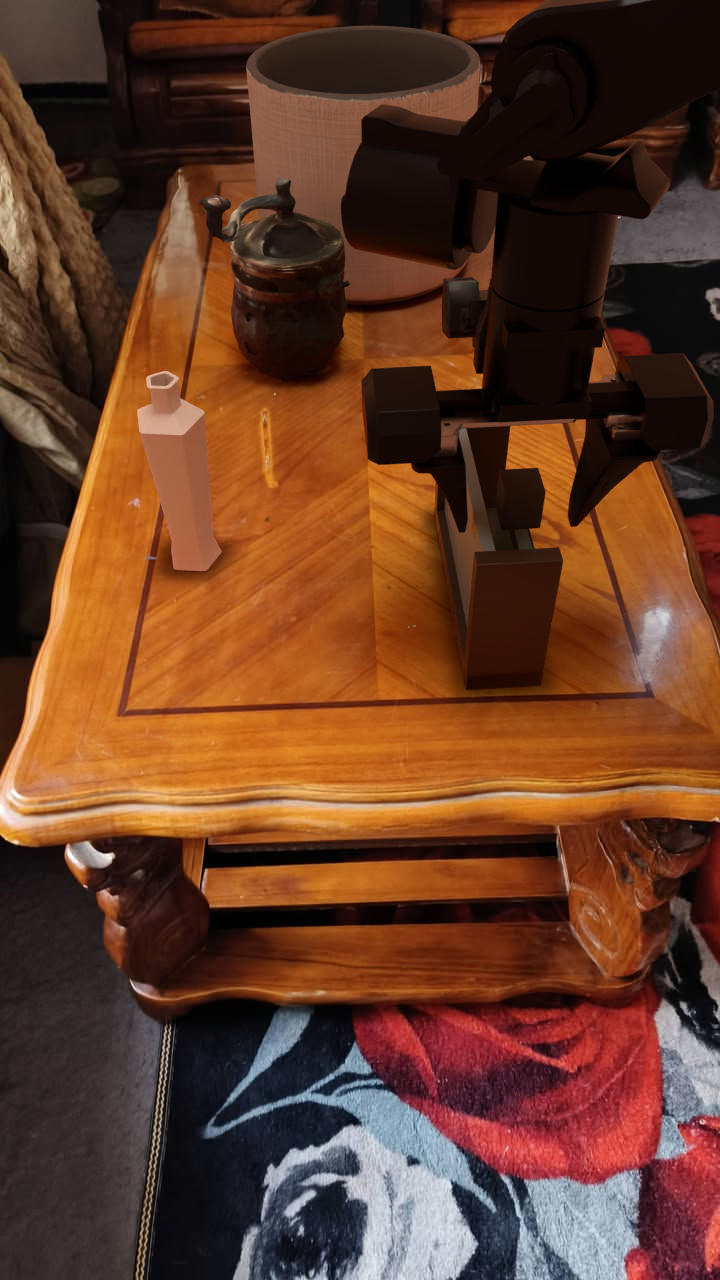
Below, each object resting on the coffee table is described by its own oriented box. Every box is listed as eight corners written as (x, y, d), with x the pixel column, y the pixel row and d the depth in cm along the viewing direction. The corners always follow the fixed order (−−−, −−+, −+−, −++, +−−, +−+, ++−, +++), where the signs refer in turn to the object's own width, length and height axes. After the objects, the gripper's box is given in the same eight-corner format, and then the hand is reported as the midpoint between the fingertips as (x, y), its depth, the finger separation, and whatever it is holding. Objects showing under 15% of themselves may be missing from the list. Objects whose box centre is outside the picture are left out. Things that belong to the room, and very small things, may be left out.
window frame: (497, 512, 75) (510, 389, 67) (540, 685, 63) (563, 560, 55) (434, 516, 75) (439, 393, 67) (465, 690, 63) (476, 565, 55)
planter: (448, 213, 114) (457, 18, 99) (488, 304, 98) (506, 88, 84) (258, 227, 112) (239, 30, 98) (269, 321, 97) (248, 104, 82)
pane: (513, 578, 68) (531, 443, 59) (531, 653, 63) (554, 517, 54) (479, 580, 68) (492, 446, 59) (495, 655, 63) (512, 520, 54)
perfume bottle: (230, 536, 74) (204, 361, 63) (219, 575, 71) (189, 398, 60) (172, 533, 74) (136, 359, 63) (158, 571, 71) (118, 395, 60)
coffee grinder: (187, 393, 88) (153, 192, 75) (263, 319, 97) (244, 129, 84) (311, 424, 84) (298, 217, 71) (378, 344, 93) (377, 148, 80)
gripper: (684, 209, 54) (632, 442, 65) (353, 224, 53) (358, 456, 65) (752, 305, 46) (679, 549, 57) (366, 323, 46) (369, 566, 57)
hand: (516, 525), depth 59 cm, fingers open, 7 cm apart
